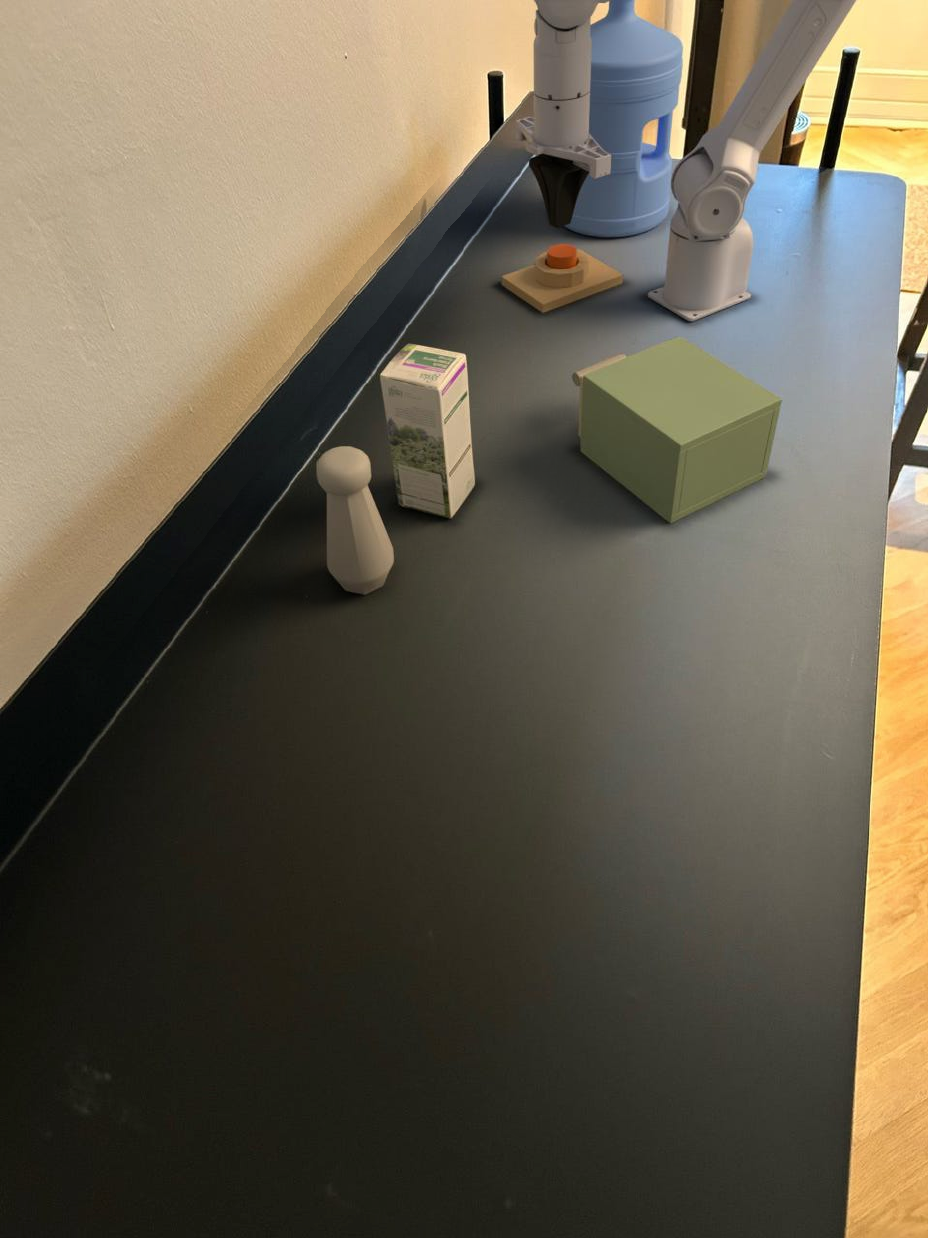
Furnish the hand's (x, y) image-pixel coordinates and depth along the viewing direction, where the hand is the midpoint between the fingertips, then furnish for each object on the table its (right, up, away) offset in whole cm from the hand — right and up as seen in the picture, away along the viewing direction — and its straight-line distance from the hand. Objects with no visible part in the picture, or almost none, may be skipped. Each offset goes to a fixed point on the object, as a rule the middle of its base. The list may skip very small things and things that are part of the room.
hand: (560, 223), depth 106 cm
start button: (+1, -1, +10) cm, 10 cm away
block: (+1, -3, +12) cm, 12 cm away
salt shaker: (-19, -41, -23) cm, 51 cm away
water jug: (+10, +11, +25) cm, 29 cm away
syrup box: (-13, -33, -16) cm, 39 cm away
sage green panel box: (+9, -29, -15) cm, 34 cm away
